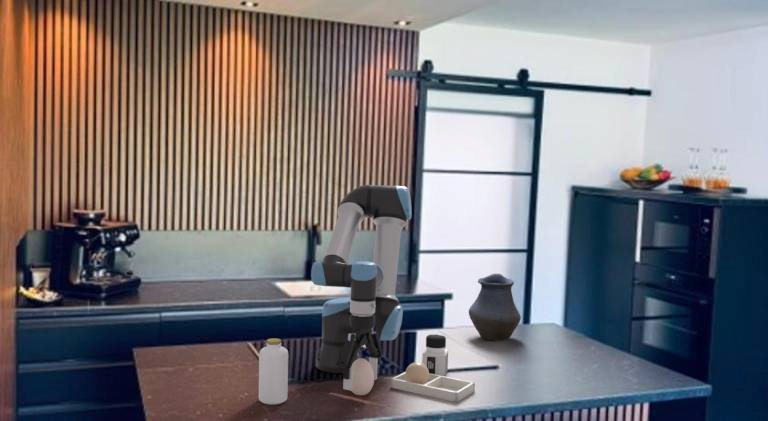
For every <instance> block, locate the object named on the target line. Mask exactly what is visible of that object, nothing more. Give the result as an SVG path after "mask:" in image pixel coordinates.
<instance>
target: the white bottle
mask: <svg viewBox="0 0 768 421" xmlns="http://www.w3.org/2000/svg"><path fill="white" fill-rule="evenodd" d="M258 354H259V355H258V357H259V358H258V400H259V401H260V403H262V404H265V405H269V406H271V405H272V406H273V405H280V404H283V403H285V402H286V401H287V399H288V393H289V392H288V390H289V386H288V385H289V379H288V378H289V351H288V349H287V348H286V347H284V346H282V340H281V339H280V338H268V339H267V340H266V346H264V347H263V348H261V349H260V351H259V353H258Z"/></svg>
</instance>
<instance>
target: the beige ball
mask: <svg viewBox="0 0 768 421" xmlns="http://www.w3.org/2000/svg"><path fill="white" fill-rule="evenodd" d="M405 372H406V374H405V375H406V379H407V381H408V382H413V383H417V384H422V385H424V384H425V383H426V382H427V381H428V379H429V370H428V368H427V367H426V366H425V365H424V364H423V363H422V362H419V361H416V362H412V363H410V364H409V365H408V366H407V368H406V369H405Z"/></svg>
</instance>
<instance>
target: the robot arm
mask: <svg viewBox="0 0 768 421" xmlns="http://www.w3.org/2000/svg"><path fill="white" fill-rule="evenodd" d="M410 193H411V192H410V190H409V188H408V187H406V186H402V185H383V184H382V185H379V184H363V185H360V186H357V187H356V188H354V189H352V190H351V191H350V192H348V193H347V194H346V195H345V196H344V197H343V198H342V200H341V201H340V203H339V205H338V206H337V207H338V208H337V212H336V213H337V219H336V222H335V225H334V227H333V231H332V234H331V237H330V239H329V242H328V244H327V248H326V250H325V254H324V256H323V259H322V260H320V261H315V262H313V264H312V266H311V271H310V272H311V273H310V276H311V282H312V284H313V285H314V286H320V287H321V286H322V287H332V288H333V287H335V288H347V289H348V288H349V289H350V296H349V297H346V296H345V297H338V298H332V299H329V300H327V301H325V302H324V303H323V306H322V314H321V319H322V321H321V324H322V325H321V346H320V347H319V348H320V349H319V350H318V355H317V357H316V360H315V361H316V362H315V364H316V365H315V367H316V369H318V370H320V371H322V372H326V373H331V374H333V373H335V374H342V378H343V383H342V384H343V386H342V390H347V391H351V390H352V384H353V368H351V366H352V364H353V362H354V361H355V360H357V359H359V358H361V357H360V354H359V350H360V349H361V348H362V347H363V346H365V347H366V349H367V351H368V353H369V355H370V356H369V357H368V362H369V363H370V365H371V366H372V369H373V372H374V381H376V380H377V379H378V362H379V361H378V360H379V359H381V357H382V355H383V349H382V344H381V342H380V341H394V340H395V339H396V338H397V337H398V335H399V333H400V330H401V327H402V323H403V315H404V314H403V313H404V308H403V306H401V305H400V300H399V299H398V298H397V296H396V290H397V289H396V288H397V280H398V279H397V277H398V268H399V257H400V246H401V236H402V235H401V234H402V229H403V228H404V227H405V226H407V221H409V220H411V219H412V216H413V215H412V213H413V212H412V211H413V210H412V200H411V199H412V198H411V194H410ZM365 218H370V219H373V220H372V222H373V223H374V225H375V226H376V233H375V242H374V250H373V259H372V261H367V260H366V261H365V260H364V261H363V260H362V261H360V260H359V261H354V262H353V263H347V262H348V260H349V256H350V255H351V254H350V253H351V250H352V247H353V245H354V240H355V238H356V234H357V231H358V228H359V225H360V224H361V223H362V222H363V221H364V220H365ZM351 392H352V391H351Z"/></svg>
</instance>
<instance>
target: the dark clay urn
mask: <svg viewBox="0 0 768 421" xmlns="http://www.w3.org/2000/svg"><path fill="white" fill-rule="evenodd" d="M477 283H478V284H480V291H479V293H478V294H477V297H476V299H475V300H474V302H473V303H472V305H471V306H470V307H469V309H468V316H469V318H470V320H471V322H472V324H473V326H474V327H475V330H476V331H477V332H478V334H479V336H480V338H481V339H483V340H485V341H503V340H508V339H510V338H511V336H512V335H513V333H514V332H515V330H516V329H517V327H518V326H519V324H520V322H521V320H522V319H521V314H520V312H519V310H518V308H517V307H516V304H515V301H514V296H513V292H512V287H513V286H514V284H515V282H514V280H513V279H511V278H507V277H505V276H504V275H503V274H501V273H491V274H490V275H487V276H484V277H481V278H478V280H477Z"/></svg>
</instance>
